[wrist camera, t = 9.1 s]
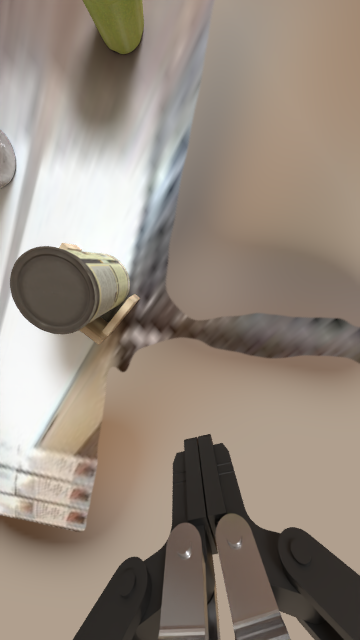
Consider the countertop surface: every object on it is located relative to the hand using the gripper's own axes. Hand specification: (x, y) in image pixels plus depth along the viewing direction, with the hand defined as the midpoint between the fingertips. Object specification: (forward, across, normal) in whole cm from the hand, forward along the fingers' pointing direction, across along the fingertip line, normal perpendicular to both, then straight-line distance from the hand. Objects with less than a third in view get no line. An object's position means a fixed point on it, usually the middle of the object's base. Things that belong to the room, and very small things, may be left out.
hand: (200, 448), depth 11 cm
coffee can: (+29, +13, -10) cm, 33 cm away
